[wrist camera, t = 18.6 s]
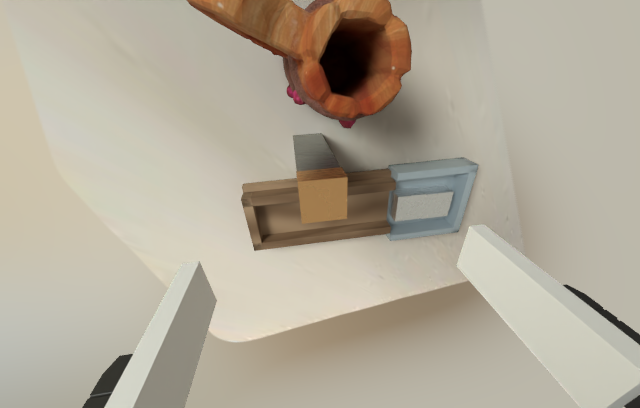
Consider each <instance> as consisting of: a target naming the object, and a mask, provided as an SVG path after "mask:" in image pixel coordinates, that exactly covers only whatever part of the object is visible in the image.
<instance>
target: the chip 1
mask: <svg viewBox="0 0 640 408" xmlns="http://www.w3.org/2000/svg"><path fill="white" fill-rule="evenodd" d="M425 199H426V193H425V192H424V191H422V190H421V189H420V188H419V187H418V186H415V187H406V188H397V189H395V190H393V191H391V194H390V203H389V212H388V213H389V214H390V215H391V217H392V218H393V219H394V221H395V222H396V221H404V220H412V219H420V218H422V214H423V209H424V204H425Z"/></svg>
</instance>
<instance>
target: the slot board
mask: <svg viewBox="0 0 640 408" xmlns="http://www.w3.org/2000/svg"><path fill="white" fill-rule="evenodd" d="M345 174H346V175H347V177H348V181H347V219H340V220H331V221H322V222H313V223H305V224H302V220H301V210H300V201H299V191H298V182H297V178H295V179H285V180H276V181H266V182H257V183H247V184H243V186H242V189H243V195H242V198H241V201H242V205H243V208H244V212H245V216H246V220H247V224H248V227H249V231H250V235H251V239H252V243H253V246H254V250H255V251H256V250H264V249H272V248H279V247H287V246H295V245H303V244H311V243H318V242H326V241H334V240H342V239H350V238H357V237H365V236H373V235H381V234H389V233H390V231H391V226H390V225H389V223H388V222H387V220H386V219H387V209H388V200H389V191H393V190H395V189H396V181H395V180H394V179H393V178H392V177H391V170H390V169H381V170H371V171H362V172H352V173H345Z"/></svg>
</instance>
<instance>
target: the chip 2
mask: <svg viewBox="0 0 640 408" xmlns="http://www.w3.org/2000/svg"><path fill="white" fill-rule="evenodd" d="M419 188H420V189H421V190H422V191H424V192H425V193H426V199H425V204H424V209H423V214H422V218H421V219H425V218H434V217H442V216H447V215H448V212H449V208H450V204H451V200H452V197H453V193H454V191H452V190H451V189H449V188H448V187H447V186H445V185H444V184H440V185H430V186H421V187H419Z"/></svg>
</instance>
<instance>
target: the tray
mask: <svg viewBox="0 0 640 408" xmlns="http://www.w3.org/2000/svg"><path fill="white" fill-rule="evenodd" d="M389 169H390V170H391V177H392V178H393V179H394V180H395V181H396V189H397V188H406V187H415V186H418V187H421V186H430V185H440V184H444V185H445V186H447V187H448V188H449V189H451V190H452V191H454V193H453V197H452V200H451V204H450V208H449V212H448V215H447V216H442V217H434V218H425V219H421V218H420V219H412V220H404V221H396V222H395V221H394V219H393V218H392V217H391V215H390V214H389V213H388V212H389V203H390V194H391V191H389V200H388V209H387V219H386V220H387V222H388V223H389V225H390V226H391V231H390V233H389V234H386V235H387V237H388V239H389V240H390V241H393V240H401V239H408V238H416V237H424V236H431V235H439V234H447V233H454V232H458V231H459V228H460V225H461V221H462V218H463V215H464V211H465V208H466V205H467V202H468V198H469V195H470V192H471V188H472V185H473V182H474V179H475V175H476V172H477V169H478V164H476V163H474V162H472V161H470V160H467V159H465V158H455V159H445V160H435V161H426V162H416V163H406V164H397V165H389Z"/></svg>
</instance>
